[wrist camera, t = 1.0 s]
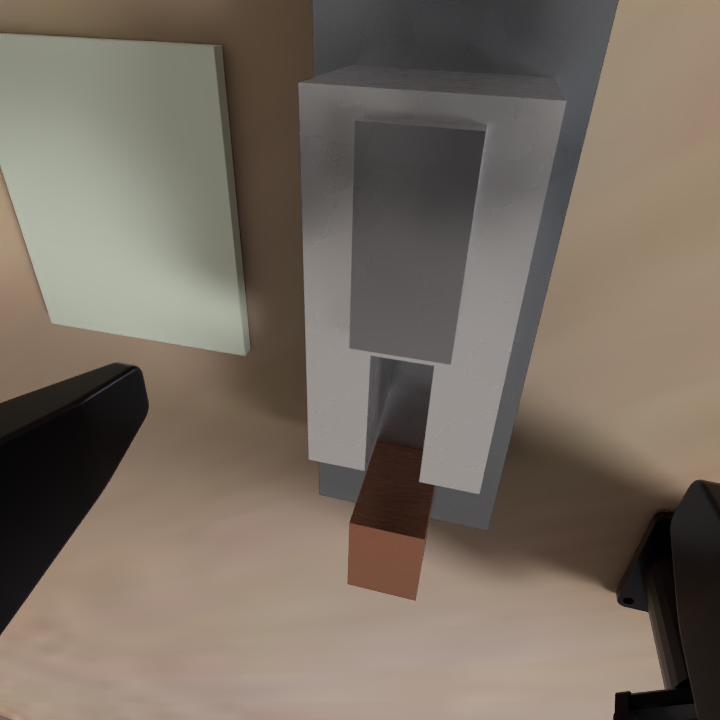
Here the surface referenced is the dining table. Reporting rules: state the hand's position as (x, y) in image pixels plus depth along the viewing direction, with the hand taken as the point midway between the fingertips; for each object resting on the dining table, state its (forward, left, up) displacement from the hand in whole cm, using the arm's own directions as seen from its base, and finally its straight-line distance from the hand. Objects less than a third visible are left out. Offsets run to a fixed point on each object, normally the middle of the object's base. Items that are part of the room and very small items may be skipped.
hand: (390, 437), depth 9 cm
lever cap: (0, +1, -9) cm, 9 cm away
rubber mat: (-1, +14, -13) cm, 18 cm away
